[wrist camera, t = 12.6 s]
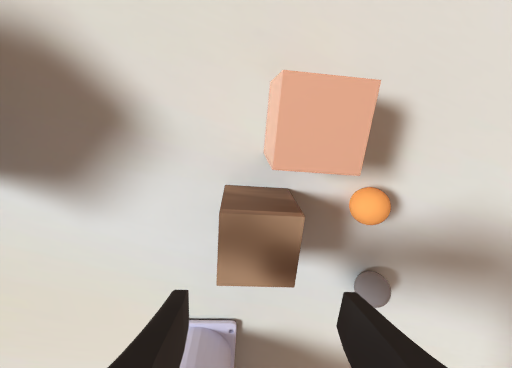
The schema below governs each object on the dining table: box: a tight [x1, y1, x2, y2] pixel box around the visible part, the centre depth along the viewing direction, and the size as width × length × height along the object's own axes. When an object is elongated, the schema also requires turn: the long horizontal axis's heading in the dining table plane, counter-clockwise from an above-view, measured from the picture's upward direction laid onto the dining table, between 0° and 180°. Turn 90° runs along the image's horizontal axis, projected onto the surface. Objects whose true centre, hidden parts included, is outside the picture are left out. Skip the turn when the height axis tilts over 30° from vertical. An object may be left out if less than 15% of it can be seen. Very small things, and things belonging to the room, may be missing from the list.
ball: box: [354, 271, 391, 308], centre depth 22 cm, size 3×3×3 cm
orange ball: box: [349, 187, 391, 225], centre depth 19 cm, size 3×3×3 cm
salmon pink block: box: [264, 70, 381, 176], centre depth 16 cm, size 5×5×6 cm
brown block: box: [217, 185, 305, 287], centre depth 18 cm, size 5×5×6 cm
